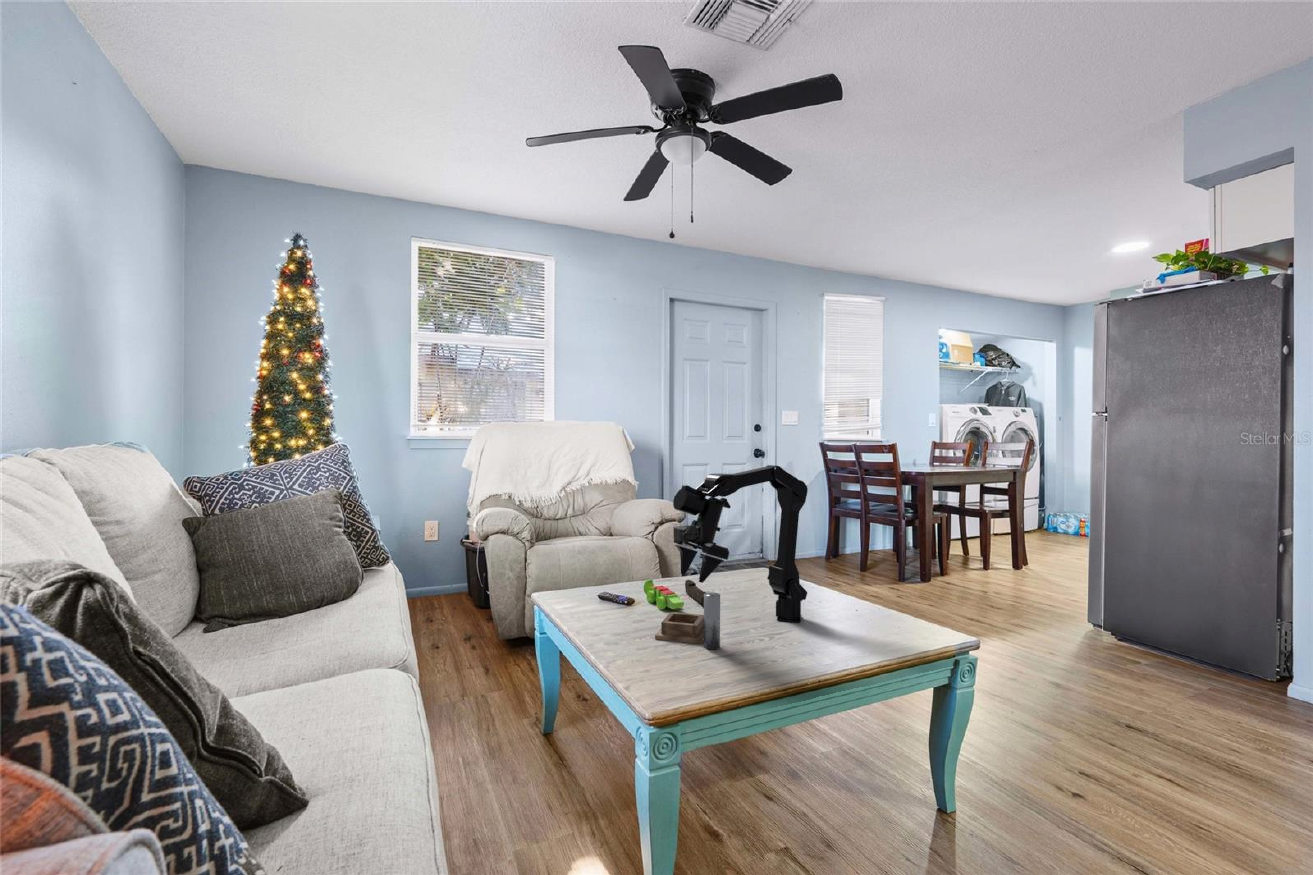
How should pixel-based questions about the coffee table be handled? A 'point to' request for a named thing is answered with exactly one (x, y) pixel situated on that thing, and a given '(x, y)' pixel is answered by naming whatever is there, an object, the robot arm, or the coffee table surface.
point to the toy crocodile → (662, 596)
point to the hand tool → (694, 591)
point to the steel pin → (712, 621)
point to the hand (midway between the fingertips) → (691, 578)
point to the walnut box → (682, 628)
